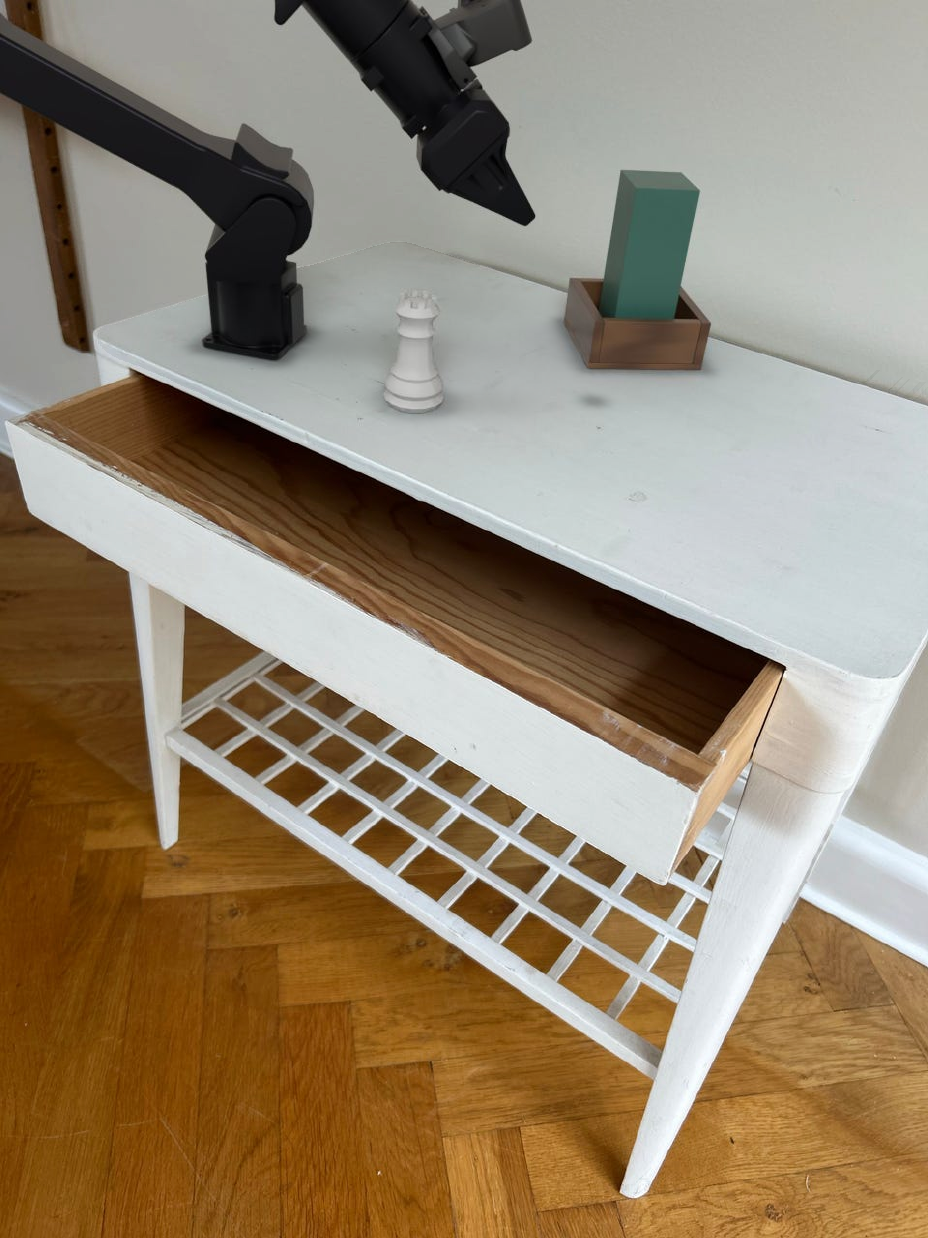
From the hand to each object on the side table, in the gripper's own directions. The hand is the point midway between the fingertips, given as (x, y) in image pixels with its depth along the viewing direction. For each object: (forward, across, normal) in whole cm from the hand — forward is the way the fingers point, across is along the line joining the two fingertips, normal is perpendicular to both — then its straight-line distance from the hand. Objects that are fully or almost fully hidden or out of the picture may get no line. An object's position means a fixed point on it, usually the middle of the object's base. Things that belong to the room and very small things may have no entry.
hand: (519, 202), depth 77 cm
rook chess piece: (+2, -11, +14) cm, 18 cm away
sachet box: (+15, 0, 0) cm, 15 cm away
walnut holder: (+16, 0, 0) cm, 16 cm away
